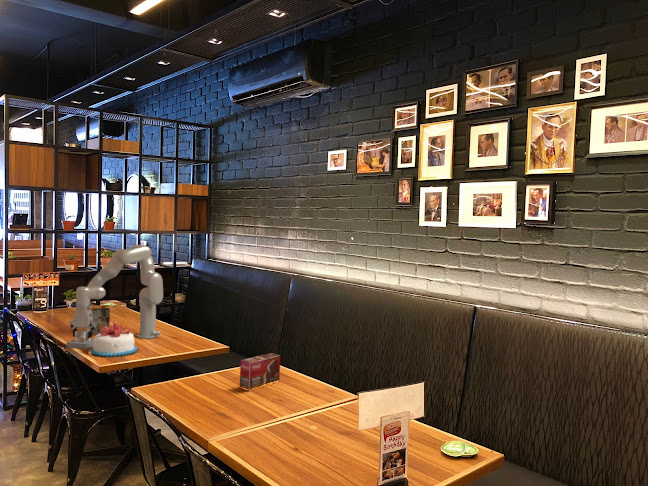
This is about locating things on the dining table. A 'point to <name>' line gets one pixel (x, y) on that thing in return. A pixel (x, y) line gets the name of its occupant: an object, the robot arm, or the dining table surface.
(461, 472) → the dining table surface
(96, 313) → the coffee box
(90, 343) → the stand
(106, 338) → the wedding cake
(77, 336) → the cube
